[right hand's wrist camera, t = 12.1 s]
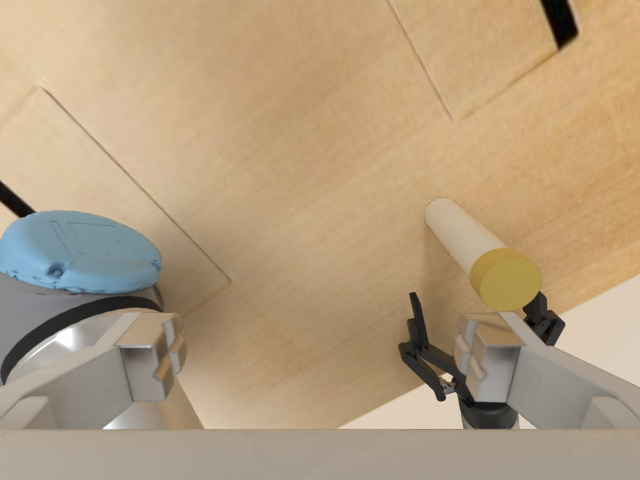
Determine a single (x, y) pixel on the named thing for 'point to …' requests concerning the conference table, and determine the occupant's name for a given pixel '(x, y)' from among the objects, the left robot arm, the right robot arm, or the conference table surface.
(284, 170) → the conference table surface
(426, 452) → the right robot arm
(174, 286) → the conference table surface
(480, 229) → the white bottle
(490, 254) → the lid
